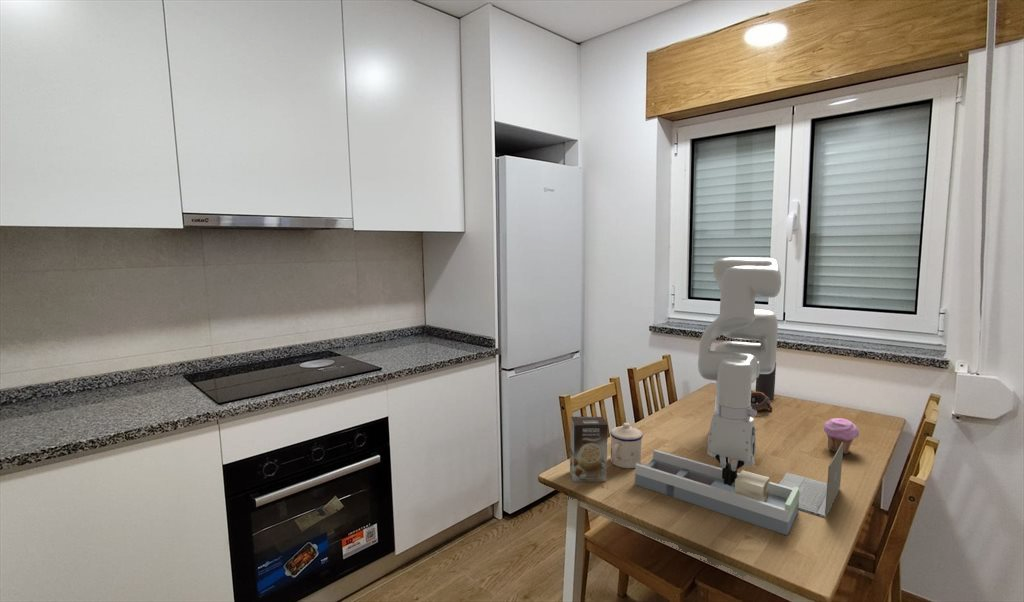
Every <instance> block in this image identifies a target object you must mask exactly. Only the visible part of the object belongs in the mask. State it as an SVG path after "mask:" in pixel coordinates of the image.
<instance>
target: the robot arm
mask: <svg viewBox="0 0 1024 602" xmlns="http://www.w3.org/2000/svg"><path fill="white" fill-rule="evenodd" d="M712 270H713V276H714V278H715V281H716V283H717V285H718V287H719V290H720V303H719V304H720V305H719V316H718V317H716V318H715V319H714V320H713V321H712V322H711V323H710V324H709V325H708V326H707V327H706V328H705V330H704V331H703V333H702V335H701V338H700V342H699V346H698V347H699V348H698V349H699V350H698V361H697V369H698V373H699V375H700V377H702V378H703V379H705V380H707V381H715V399H714V401H715V402H714V412H713V413H712V416H711V420H710V425H709V428H708V429H709V430H708V436H707V451H706V453H707V455H709V456H710V457H712V458H714V459H716V461H717V462H718V463H719V465H720V468H722V479H724V484H725V485H726V484H728V486H731V485H732V484H733V483H734V482H735V479H736V478H737V473H738V470H739V469H740V468H742V467H753V466H754V465H755V464H756V461H755V458H754V456H756V450H757V447H756V446H757V445H756V444H757V442H756V440H757V439H756V426H755V420H754V418H753V417H757V414H758V411H755V410H753V409H752V408H751V406H750V405H751V391H752V384H754V383H755V382H756V378H758V377H759V374H770V373H772V372H773V370H774V368H775V362H776V360H777V348H778V347H777V345H778V329H779V328H778V327H779V326H778V319H777V315H776V314H775V312H773V311H771V310H767V309H755V308H756V305H755V303H756V298H775V297H777V296H778V295H779V293H780V291H781V287H782V275H781V271H780V266H779V262H778V261H777V259H775V258H770V257H723V258H719V259H716V260H715V261H714V262H713V267H712ZM721 336H724V337H726V338H728V339H735V340H745V341H734V340H733V341H731V340H727V341H726V340H725V341H722V342H719V343H718V344H717V345H716V346H715V348H714V350H711V347H712V344H713V342H714V341H715V340H716V339H718V338H719V337H721ZM747 340H748V341H758V342H746V341H747ZM776 363H777V362H776ZM730 459H732V461H731V463H730Z"/></svg>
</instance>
